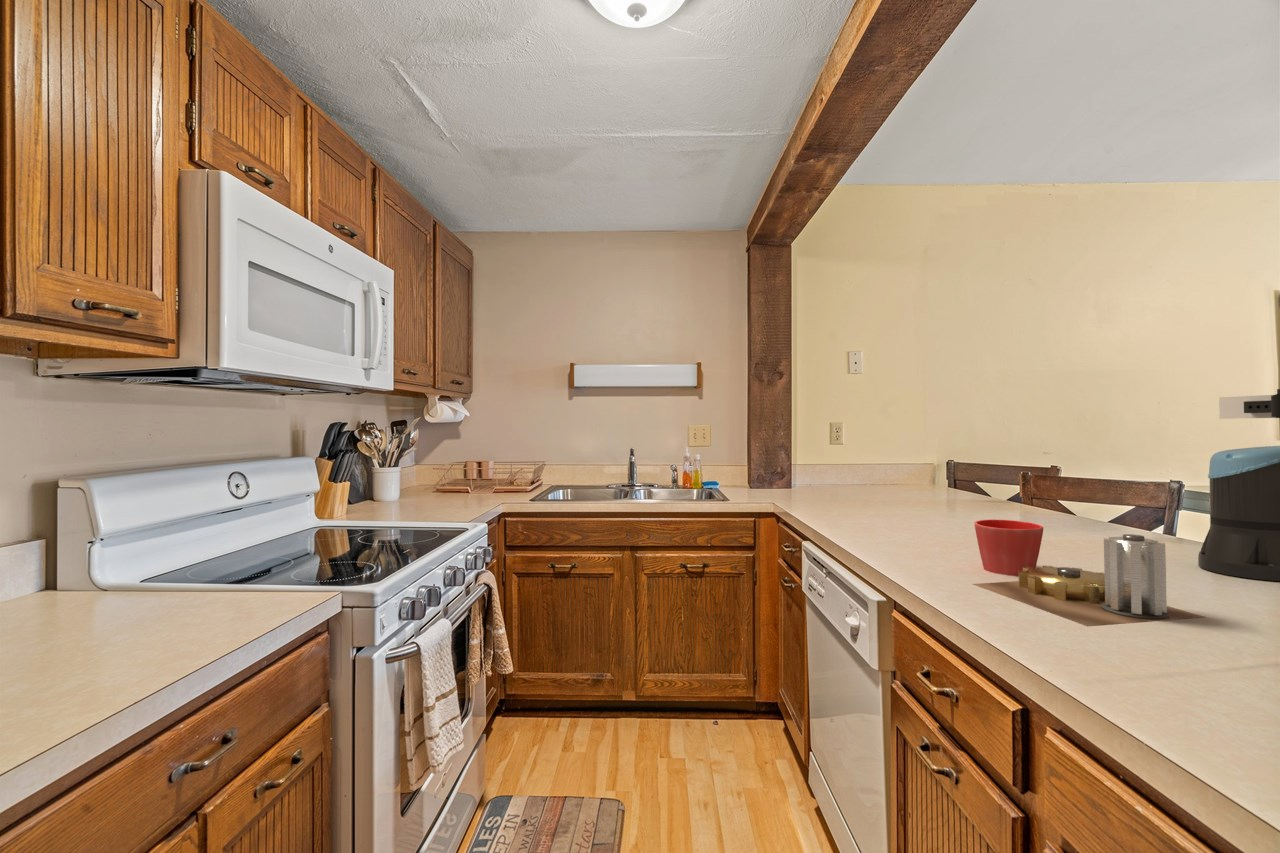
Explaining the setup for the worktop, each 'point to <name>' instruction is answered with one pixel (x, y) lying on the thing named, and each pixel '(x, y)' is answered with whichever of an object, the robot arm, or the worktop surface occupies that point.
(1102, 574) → the brass gear
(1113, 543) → the grey pinion
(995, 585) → the gear board
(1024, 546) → the flower pot
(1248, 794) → the worktop surface
